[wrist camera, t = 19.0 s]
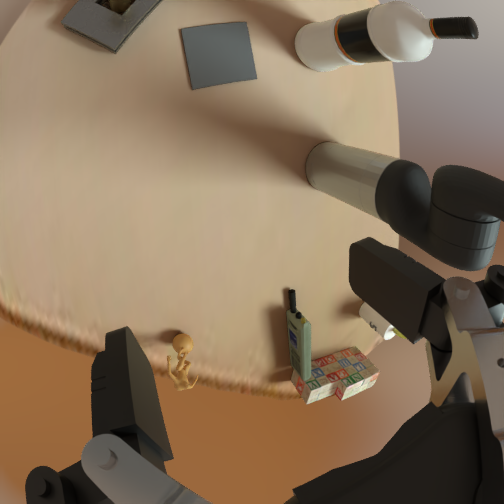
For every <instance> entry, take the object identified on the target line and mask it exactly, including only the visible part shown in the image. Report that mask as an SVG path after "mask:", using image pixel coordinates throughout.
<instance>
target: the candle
mask: <svg viewBox="0 0 504 504" xmlns="http://www.w3.org/2000/svg"><path fill="white" fill-rule="evenodd" d="M359 315H360V317H362V318H363V319H364V320H365V321H366V322H367V323H368V324H369V325H370V326H371V328H373V329H375V331H377V332H378V333H379V334H380V335H381V336H382V337H383V338H384V339H386V340H388V339H391V338H392V337H393V336H394V335H395V334H397V335H398V336H399V337H401V338H405V339H406V337H405V336H404V335H402V334H401V333H400V332H399V331H398V330H397V329H396V328H395V327H393V326H392V325H391V324H390V323H389V322H388V321H387V320H385V319H384V318H383V317H382V316H381V315H380V314H378V313H377V312H376V311H375V310H374V309H373V308H372V307H370V306H369V305H368V304H367V303H366V302H364V303H363V304H362V306H361V307H360V310H359Z"/></svg>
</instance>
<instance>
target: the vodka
mask: <svg viewBox="0 0 504 504" xmlns="http://www.w3.org/2000/svg"><path fill="white" fill-rule="evenodd" d="M454 38H455V39H460V38H461V39H477V38H478V28H477V25H476V23H475V21H474V20H473V19H472V18H471V17H450V18H434V19H426V18H425V16H424V15H423V14H422V13H421V12H420V11H419V10H418V9H417V8H416V7H414V6H413V5H411V4H408V3H406V2H401V1H392V2H388V3H386V4H380V5H376V6H374V7H372V8H368V9H365V10H361V11H357V12H354V13H350V14H347V15H339V16H337V17H336V18H334V19H331V20H328V21H324V22H313V23H310V24H307V25H305V26H303V27H302V28H301V29H300V30H299V31H298V33H297V35H296V37H295V49H296V53H297V55H298V57H299V58H300V60H301V61H302V62H303V63H304V64H305V65H306V66H308V67H309V68H311V69H313V70H315V71H319V72H327V71H332V70H335V69H337V68H338V67H341V66H346V65H363V64H365V63H371V62H384V61H394V62H403V61H406V62H417V61H420V60H423V59H425V58H426V57H427V56H428V55H429V54H430V52H431V50H432V46H433V39H454Z"/></svg>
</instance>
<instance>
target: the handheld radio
mask: <svg viewBox="0 0 504 504" xmlns="http://www.w3.org/2000/svg"><path fill="white" fill-rule="evenodd" d="M289 300H290V307H291V308H290V310H287V312H286V315H287V326H288V338H289V350H290V362H291V366H292V367H293V369H294V370H295V371H296V372H297V374H298V375H299V376H300V378H301V379H302V380H303V381H306V380H308V379H310V378H311V324H310V323H309V321H307V319H306V318H305V317H304V316H303V315H302V314H301V312H299V311H298V310H297V309H296V297H295V290H294V289H291V290H289Z"/></svg>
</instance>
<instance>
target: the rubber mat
mask: <svg viewBox="0 0 504 504" xmlns="http://www.w3.org/2000/svg"><path fill="white" fill-rule="evenodd" d="M181 33H182V38H183V43H184V49H185V54H186V59H187V65H188V70H189V75H190V80H191V85H192V90H194V89H198V88H203V87H209V86H214V85H220V84H226V83H232V82H239V81H246V80H253V79H257V75H256V70H255V64H254V59H253V53H252V48H251V43H250V38H249V32H248V27H247V22H237V23H224V24H214V25H206V26H198V27H191V28H185V29H181Z"/></svg>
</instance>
